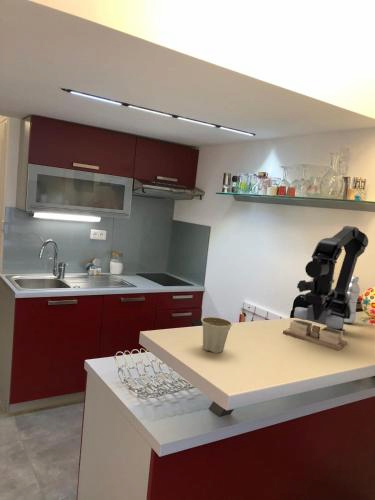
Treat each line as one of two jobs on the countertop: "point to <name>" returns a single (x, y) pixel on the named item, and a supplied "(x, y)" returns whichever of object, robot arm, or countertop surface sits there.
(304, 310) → the grey dumbbell shape
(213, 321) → the flower pot
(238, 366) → the countertop surface
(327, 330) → the display stand
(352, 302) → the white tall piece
